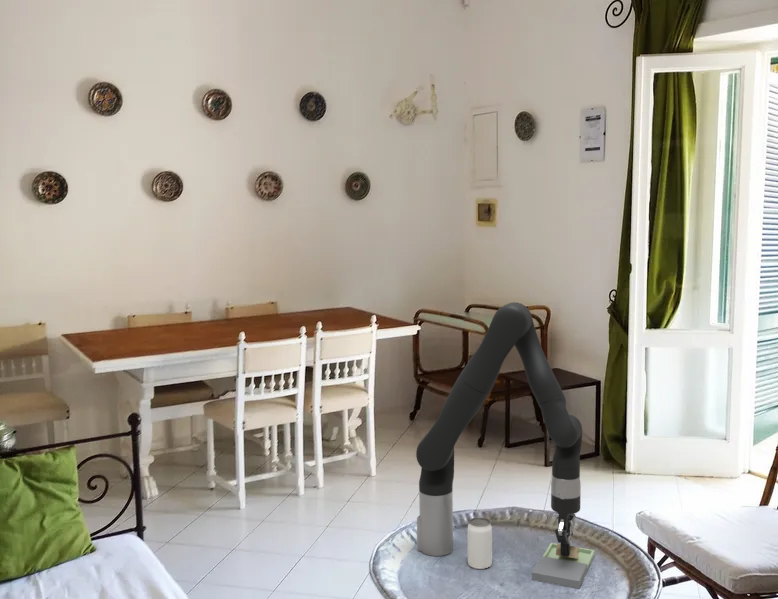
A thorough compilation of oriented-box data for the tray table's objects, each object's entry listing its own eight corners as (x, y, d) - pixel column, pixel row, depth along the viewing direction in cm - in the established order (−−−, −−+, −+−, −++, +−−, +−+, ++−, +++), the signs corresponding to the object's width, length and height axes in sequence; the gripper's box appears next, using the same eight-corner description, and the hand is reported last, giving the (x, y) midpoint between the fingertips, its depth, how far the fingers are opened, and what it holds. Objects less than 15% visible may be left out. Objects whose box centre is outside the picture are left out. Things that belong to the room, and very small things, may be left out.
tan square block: (555, 554, 217) (557, 543, 218) (559, 555, 221) (560, 544, 222) (574, 558, 215) (575, 546, 216) (578, 558, 219) (579, 547, 220)
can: (491, 570, 214) (490, 527, 213) (466, 569, 216) (466, 525, 214) (492, 559, 221) (492, 517, 219) (468, 558, 222) (468, 515, 220)
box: (542, 562, 218) (542, 557, 218) (550, 547, 227) (550, 542, 227) (587, 570, 213) (587, 565, 213) (594, 555, 222) (594, 550, 222)
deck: (531, 579, 209) (531, 572, 209) (541, 563, 218) (541, 556, 218) (578, 588, 204) (579, 581, 204) (587, 571, 213) (587, 564, 213)
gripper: (557, 481, 220) (557, 542, 223) (545, 498, 209) (544, 563, 211) (585, 485, 217) (584, 547, 220) (574, 503, 205) (573, 568, 208)
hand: (565, 555), depth 215 cm, fingers closed
